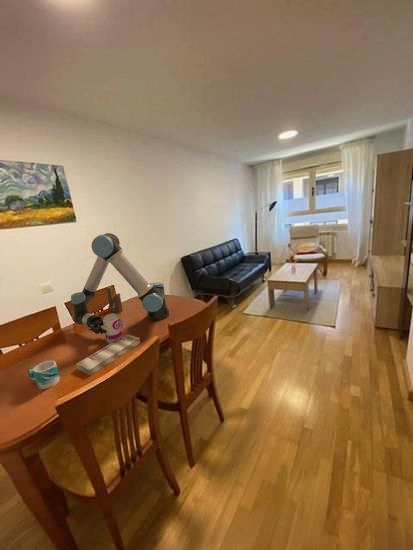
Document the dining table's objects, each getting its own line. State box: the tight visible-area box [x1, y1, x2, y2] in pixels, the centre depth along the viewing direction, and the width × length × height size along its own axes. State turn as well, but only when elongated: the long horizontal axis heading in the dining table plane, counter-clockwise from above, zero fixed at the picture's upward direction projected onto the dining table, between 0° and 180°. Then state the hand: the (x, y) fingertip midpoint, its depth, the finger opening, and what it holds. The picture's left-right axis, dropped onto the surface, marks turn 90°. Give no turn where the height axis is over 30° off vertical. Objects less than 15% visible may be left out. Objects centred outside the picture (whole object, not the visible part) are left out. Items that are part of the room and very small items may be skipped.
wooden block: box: [105, 286, 124, 314], centre depth 175 cm, size 4×11×18 cm, turn 62°
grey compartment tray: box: [75, 334, 141, 376], centre depth 122 cm, size 30×10×3 cm, turn 149°
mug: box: [26, 359, 61, 390], centre depth 104 cm, size 8×12×8 cm
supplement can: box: [103, 312, 123, 345], centre depth 133 cm, size 8×8×15 cm
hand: (118, 328), depth 131 cm, fingers closed on supplement can, 8 cm apart
